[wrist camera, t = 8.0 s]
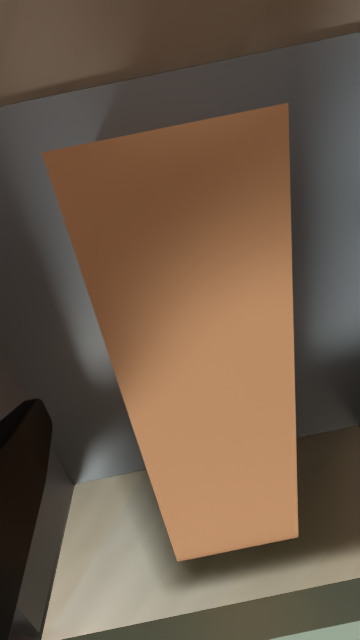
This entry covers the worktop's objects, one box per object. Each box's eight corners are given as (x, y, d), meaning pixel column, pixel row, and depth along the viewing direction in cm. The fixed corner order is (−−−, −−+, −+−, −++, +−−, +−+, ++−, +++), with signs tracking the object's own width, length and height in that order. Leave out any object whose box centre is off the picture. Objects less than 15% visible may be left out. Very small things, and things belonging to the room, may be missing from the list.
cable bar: (168, 442, 15) (177, 561, 11) (89, 153, 10) (41, 152, 5) (253, 424, 15) (298, 537, 11) (222, 127, 10) (288, 102, 5)
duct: (41, 500, 16) (-8, 657, 11) (-171, 144, 9) (-571, 129, 4) (373, 431, 17) (477, 557, 11) (421, 21, 9) (770, -149, 4)
